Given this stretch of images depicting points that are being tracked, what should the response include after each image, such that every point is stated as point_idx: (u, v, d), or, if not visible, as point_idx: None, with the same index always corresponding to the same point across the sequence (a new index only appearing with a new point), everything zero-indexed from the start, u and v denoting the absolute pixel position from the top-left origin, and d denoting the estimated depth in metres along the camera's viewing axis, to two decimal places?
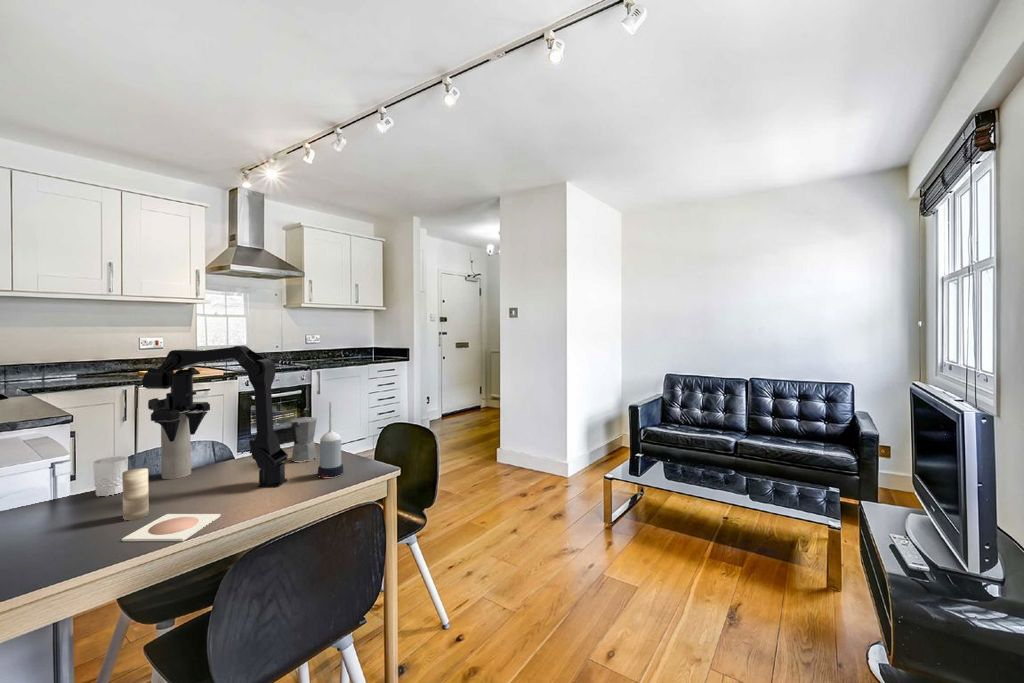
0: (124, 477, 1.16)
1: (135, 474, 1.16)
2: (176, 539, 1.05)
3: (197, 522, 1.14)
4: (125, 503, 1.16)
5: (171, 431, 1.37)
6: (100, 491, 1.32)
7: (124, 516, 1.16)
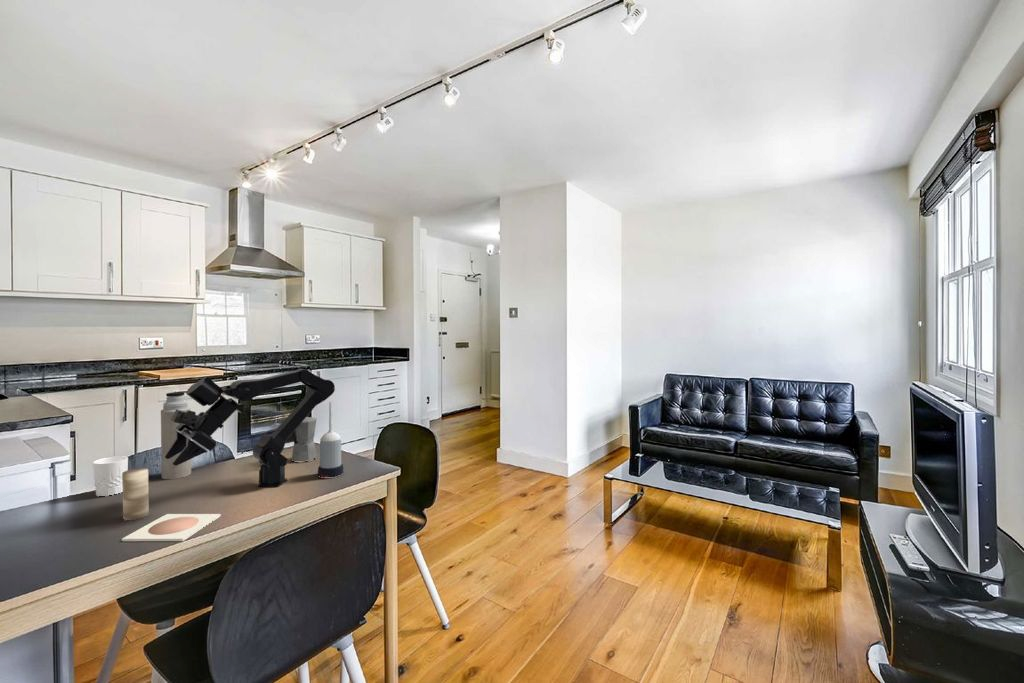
0: (124, 477, 1.16)
1: (135, 474, 1.16)
2: (176, 539, 1.05)
3: (197, 522, 1.14)
4: (125, 503, 1.16)
5: (188, 456, 1.22)
6: (100, 491, 1.32)
7: (124, 516, 1.16)
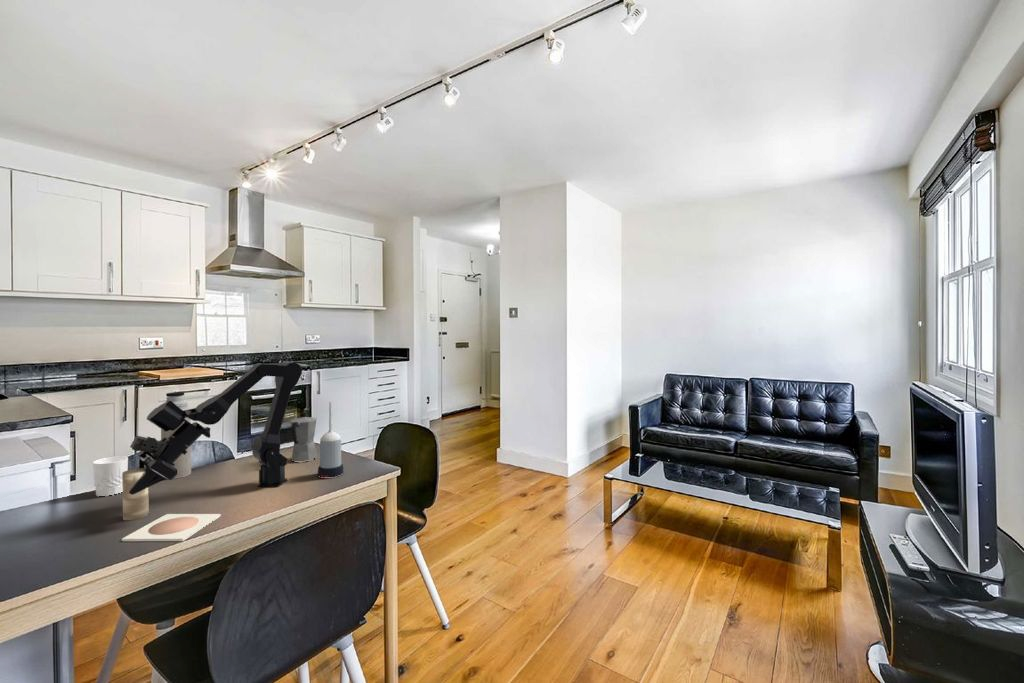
0: (124, 477, 1.16)
1: (135, 474, 1.16)
2: (176, 539, 1.05)
3: (197, 522, 1.14)
4: (125, 503, 1.16)
5: (145, 484, 1.17)
6: (100, 491, 1.32)
7: (124, 516, 1.16)
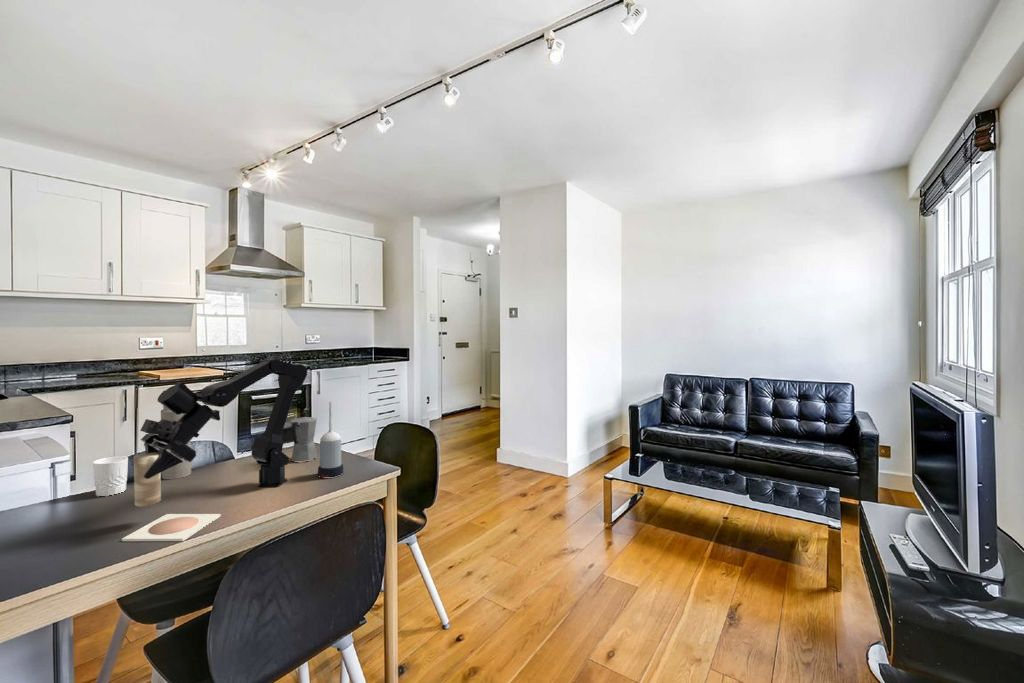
0: (137, 461, 1.12)
1: (149, 458, 1.12)
2: (176, 539, 1.05)
3: (197, 522, 1.14)
4: (138, 488, 1.12)
5: (161, 468, 1.13)
6: (100, 491, 1.32)
7: (137, 502, 1.12)
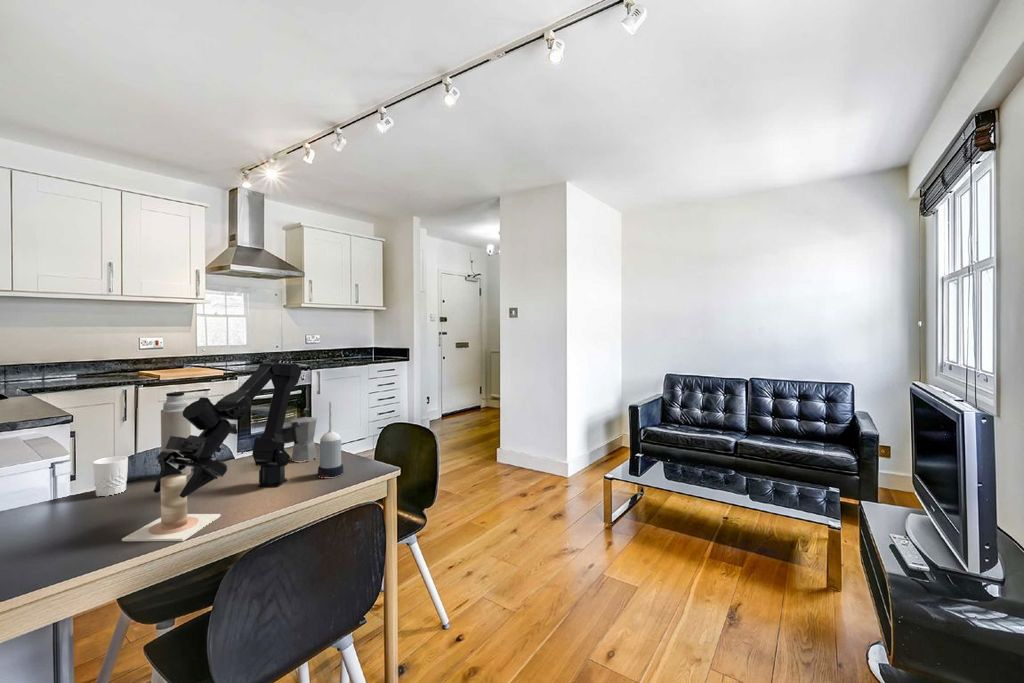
0: (167, 484, 1.09)
1: (179, 479, 1.10)
2: (176, 539, 1.05)
3: (197, 522, 1.14)
4: (168, 511, 1.09)
5: (196, 486, 1.11)
6: (100, 491, 1.32)
7: (166, 525, 1.09)
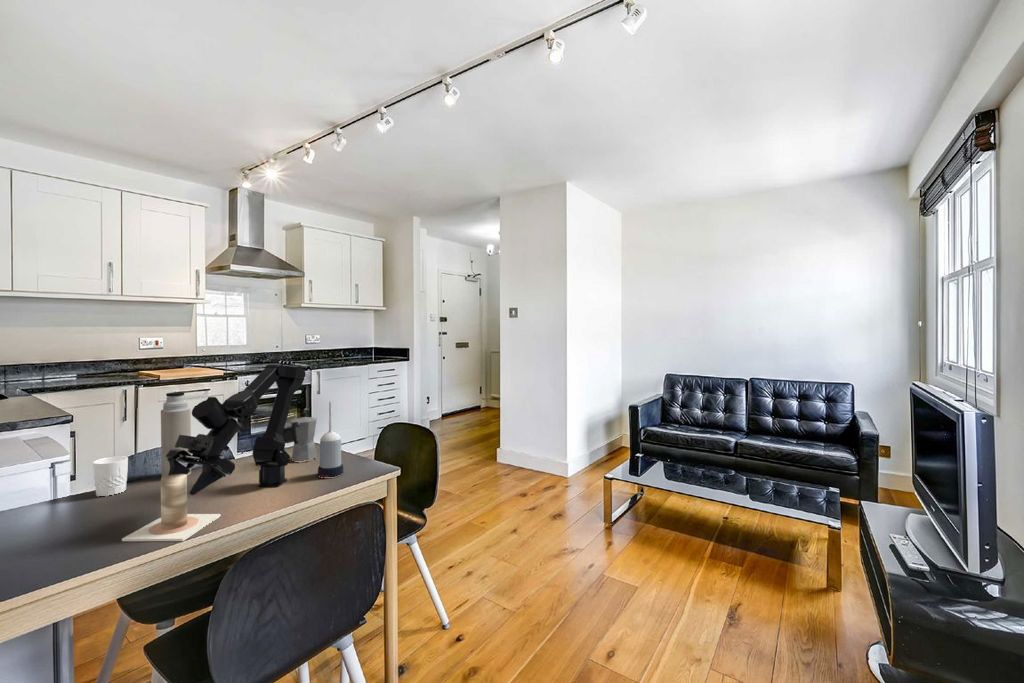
0: (167, 484, 1.09)
1: (179, 479, 1.10)
2: (176, 539, 1.05)
3: (197, 522, 1.14)
4: (168, 511, 1.09)
5: (205, 483, 1.13)
6: (100, 491, 1.32)
7: (166, 525, 1.09)
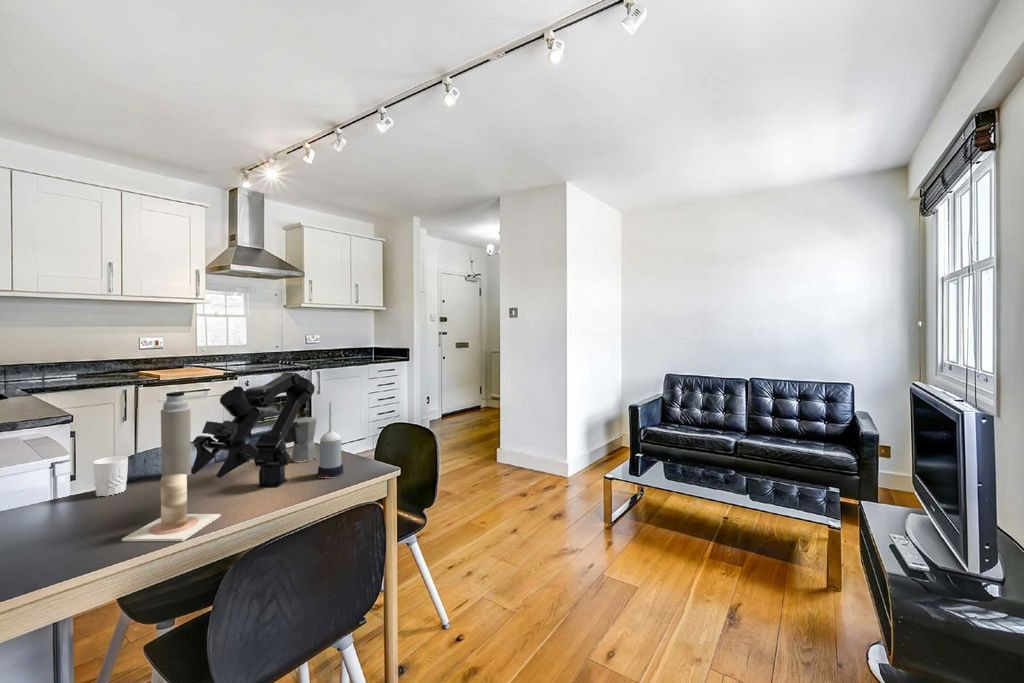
0: (167, 484, 1.09)
1: (179, 479, 1.10)
2: (176, 539, 1.05)
3: (197, 522, 1.14)
4: (168, 511, 1.09)
5: (231, 467, 1.20)
6: (100, 491, 1.32)
7: (166, 525, 1.09)
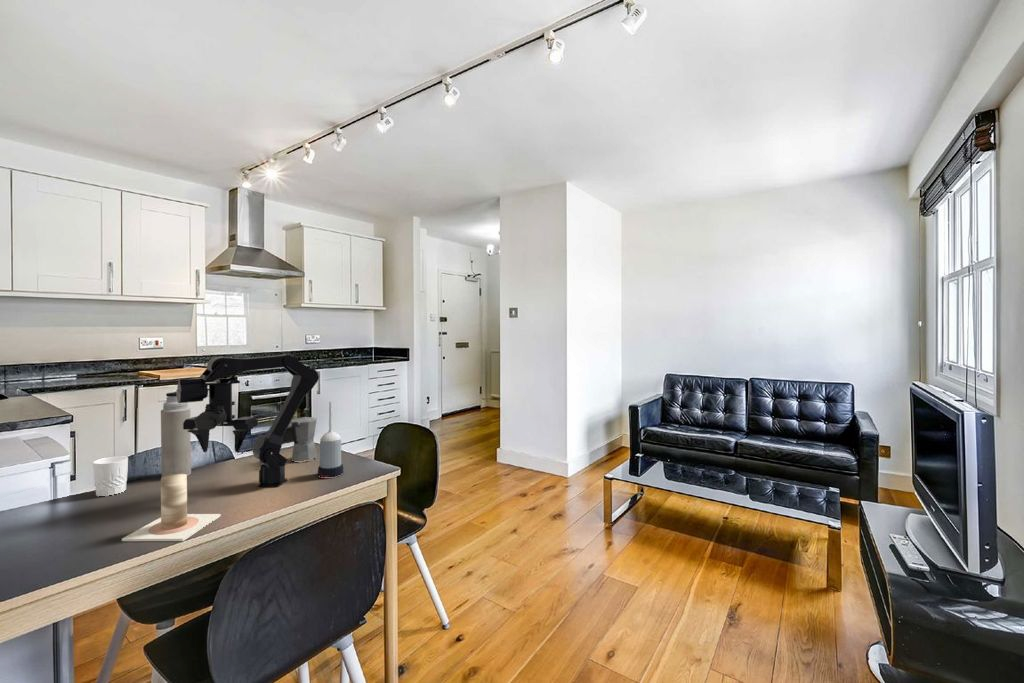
0: (167, 484, 1.09)
1: (179, 479, 1.10)
2: (176, 539, 1.05)
3: (197, 522, 1.14)
4: (168, 511, 1.09)
5: (242, 440, 1.34)
6: (100, 491, 1.32)
7: (166, 525, 1.09)
